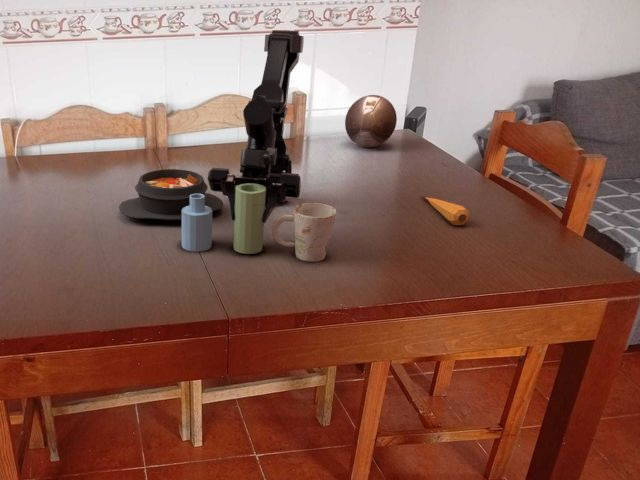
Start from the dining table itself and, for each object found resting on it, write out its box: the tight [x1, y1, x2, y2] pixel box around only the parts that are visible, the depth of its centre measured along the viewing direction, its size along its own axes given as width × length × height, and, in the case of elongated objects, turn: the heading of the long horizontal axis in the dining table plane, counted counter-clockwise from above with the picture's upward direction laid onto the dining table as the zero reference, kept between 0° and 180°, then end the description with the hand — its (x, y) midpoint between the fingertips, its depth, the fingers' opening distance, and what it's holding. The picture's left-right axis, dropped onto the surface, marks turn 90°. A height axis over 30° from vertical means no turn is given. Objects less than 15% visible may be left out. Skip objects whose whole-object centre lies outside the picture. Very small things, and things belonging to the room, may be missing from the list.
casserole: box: [118, 168, 224, 222], centre depth 164 cm, size 25×19×8 cm
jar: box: [233, 183, 266, 255], centre depth 143 cm, size 6×6×13 cm
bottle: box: [181, 194, 213, 253], centre depth 146 cm, size 6×6×11 cm
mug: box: [270, 202, 337, 263], centre depth 142 cm, size 8×13×10 cm, turn 78°
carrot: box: [424, 196, 470, 226], centre depth 165 cm, size 20×4×4 cm, turn 6°
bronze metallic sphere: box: [344, 94, 398, 148], centre depth 210 cm, size 15×15×15 cm
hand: (248, 220), depth 142 cm, fingers closed on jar, 6 cm apart
